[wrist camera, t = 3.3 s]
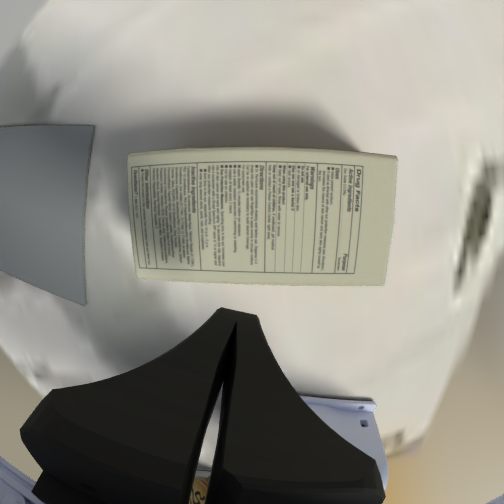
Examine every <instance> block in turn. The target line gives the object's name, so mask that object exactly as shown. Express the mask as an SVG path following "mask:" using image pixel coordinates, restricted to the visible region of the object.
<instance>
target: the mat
mask: <svg viewBox="0 0 504 504" xmlns="http://www.w3.org/2000/svg"><path fill="white" fill-rule="evenodd" d="M94 129H95V126H90V125H35V126H14V127H1V128H0V270H1V271H3V272H5V273H7V274H9V275H11V276H13V277H15V278H18V279H20V280H22V281H24V282H26V283H29V284H31V285H33V286H36V287H38V288H40V289H43V290H45V291H47V292H50V293H52V294H55V295H57V296H60V297H62V298H65V299H67V300H70V301H73V302H75V303H78V304H81V305H83V306H85V305H86V290H85V266H84V231H85V207H86V192H87V181H88V171H89V163H90V155H91V148H92V141H93V135H94Z"/></svg>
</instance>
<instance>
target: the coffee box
mask: <svg viewBox="0 0 504 504" xmlns="http://www.w3.org/2000/svg"><path fill="white" fill-rule="evenodd" d="M210 474H211V471H198V470H196V474H195V478H194V483H193V487H192V491H191V496H190V500H189V504H204V503H205V498H206V494H207V489H208V484H209V479H210Z"/></svg>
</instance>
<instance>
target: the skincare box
mask: <svg viewBox="0 0 504 504" xmlns="http://www.w3.org/2000/svg"><path fill="white" fill-rule="evenodd" d="M397 174H398V158H397V156H393V155H384V154H375V153H366V152H356V151H346V150H333V149H318V148H297V147H266V146H244V147H205V148H182V149H169V150H158V151H148V152H138V153H130V154H129V155H128V157H127V182H128V201H129V215H130V228H131V239H132V248H133V256H134V263H135V270H136V276H137V278H138V279H144V280H161V281H181V282H200V283H224V284H251V285H290V286H384V285H385V283H386V276H387V269H388V263H389V256H390V248H391V242H392V238H393V234H394V227H395V216H396V210H395V203H396V192H397Z"/></svg>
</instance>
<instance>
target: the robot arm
mask: <svg viewBox="0 0 504 504" xmlns="http://www.w3.org/2000/svg"><path fill="white" fill-rule="evenodd" d="M223 380H224V381H223ZM222 383H223V391H222V401H221V411H220V422H219V432H218V439H217V445H216V450H215V455H214V460H213V465H212V470H211V474H210V479H209V484H208V489H207V494H206V498H205V503H204V504H382V503H383V501H384V499H385V497H386V496H385V492H384V491H385V489H386V486H387V482H388V462H387V458H386V454H385V451H384V447H383V444H382V440H381V437H380V434H379V430H378V427H377V424H376V421H375V417H374V414H373V412H374V410H375V409H376V407H377V405H376V403H375V402H373V401H352V400H338V399H327V398H317V397H308V396H300V395H298V393H297V392H296V391H295V389H294V388H293V387H292V385H291V384H290V382H289V381H288V379H287V378H286V376H285V375H284V373H283V372H282V370H281V368H280V366H279V365H278V363H277V361H276V359H275V357H274V356H273V353H272V351H271V349H270V347H269V345H268V343H267V341H266V338H265V336H264V333H263V331H262V328H261V325H260V321H259V318H258V317H257V315H254V314H249V313H244V312H240V311H235V310H231V309H226V308H222V307H221V308H219V309H217V310H216V312H215V313H214V314H213V315H212V316H211V317H210V318H209V319H208V320H207V321H206V322H205V323H204V324H203V325H202V326H201V327H200V328H199V329H197V330H196V331H195V332H194V333H193V334H192V335H190V336H189V337H188V338H186V339H185V340H184V341H182V342H181V343H180V344H178V345H177V346H175V347H174V348H173V349H171V350H169V351H168V352H166V353H165V354H163V355H161V356H159V357H158V358H156V359H154V360H152V361H150V362H148V363H146V364H144V365H142V366H140V367H138V368H136V369H133V370H131V371H128V372H126V373H123V374H120V375H117V376H114V377H111V378H108V379H104V380H101V381H97V382H93V383H89V384H84V385H78V386H72V387H66V388H60V389H52V391H51V392H50V393H49V394H48V395H47V396H46V397H45V398H44V399H43V400H42V401H41V402H40V403H39V405H38V406H37V407H36V408H35V410H34V411H33V413H32V414H31V415H30V417H29V418H28V419H27V420H26V422H25V423H24V425H23V426H22V427H21V429H20V435H21V439H22V441H23V443H24V444H25V446H26V448H27V449H28V451H29V452H30V454H31V455H32V456H33V458H34V459H35V460H36V462H37V463H38V464H39V466H40V467H41V468H42V470H43V472H42V474H41V475H40V477H39V479H38V481H37V482H36V481H34V480H33V479H31V478H30V477H28V476H27V475H25V474H24V473H22V472H21V471H19V470H18V469H17V468H15V467H14V466H13V465H11V464H10V463H9V462H8V461H6V460H5V459H4V458H2V457H1V456H0V504H189V500H190V496H191V491H192V487H193V483H194V478H195V474H196V469H197V465H198V461H199V457H200V452H201V448H202V444H203V439H204V436H205V433H206V429H207V427H208V424H209V421H210V418H211V415H212V412H213V409H214V407H215V404H216V401H217V398H218V395H219V392H220V389H221V386H222ZM486 504H504V494H503V495H501V496H499V497H497V498H495V499H494V500H492V501H490V502H488V503H486Z"/></svg>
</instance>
